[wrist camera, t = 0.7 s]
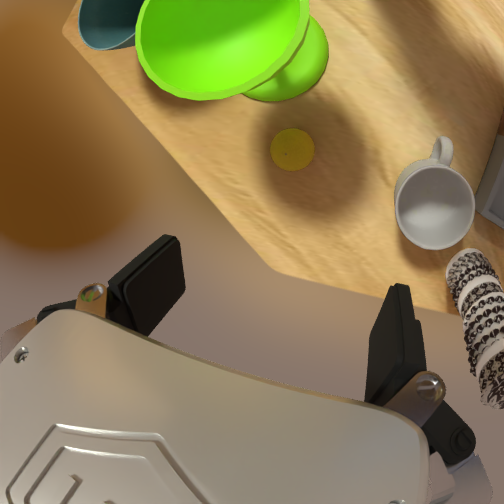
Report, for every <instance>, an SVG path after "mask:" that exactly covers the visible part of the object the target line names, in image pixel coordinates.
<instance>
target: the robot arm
mask: <svg viewBox="0 0 504 504" xmlns="http://www.w3.org/2000/svg"><path fill="white" fill-rule="evenodd" d="M108 284H109V287H108V288H106V286H105V285H103V284H101V283H93V284H89V285H87V286H85V287H84V288H82V289H81V291H80V292H79V294H78V296H77V299H76V300H72V301H68V302H63V303H58V304H54V305H50V306H47V307H45V308H43V309H42V311H40V313H39V314H38V316H37V319H35V317H34V318H32V319H30V320H28V321H26V322H24V323H21V324H19V325H17V326H15V327H13V328H11V329H9V330H7V331H6V332H5V333H4V334H3V335H2V337H1V340H0V345H1V358H2V362H1V364H0V504H426V500H427V494H428V486H429V477H430V480H431V482H432V483H431V484H430V487H431V490H432V499H431V502H430V503H429V504H489V503H490V502H491V499H492V495H493V491H492V486H491V484H490V481H489V479H488V476H487V474H486V471H485V469H484V466H483V464H482V462H481V459H480V457H479V455H476V456H475V454H474V452H473V451H474V449H475V444H476V438H475V435H474V433H473V431H472V430H471V429H470V427H469V426H468V425H467V424H466V423H465V422H464V421H463V420H462V419H461V418H460V417H459V416H458V415H457V414H456V412H455V411H454V410H453V409H452V408H451V407H450V406H449V405H448V404H447V403H446V402H445V401H444V400H443V399H444V397H445V394H446V387H445V384H444V382H443V380H442V379H441V378H440V377H439V375H437V374H435V373H434V372H430V371H427V369H426V358H425V350H424V342H423V335H422V329H421V323H420V321H419V320H416V319H415V315H414V309H413V304H412V298H411V293H410V288H409V286H408V285H404V284H399V283H396V284H395V285H394V286H390V287H389V290H388V292H387V295H386V298H385V300H384V302H383V305H382V307H381V310H380V312H379V314H378V317H377V319H376V321H375V324H374V326H373V328H372V330H371V333H370V337H369V354H368V368H367V380H366V390H365V400H364V402H362V401H358V400H353V399H349V398H344V397H339V396H334V395H330V394H325V393H321V392H316V391H312V390H307V389H304V388H299V387H295V386H291V385H287V384H284V383H280V382H276V381H272V380H268V379H265V378H262V377H258V376H255V375H252V374H248V373H245V372H242V371H238V370H235V369H232V368H229V367H226V366H223V365H220V364H217V363H214V362H211V361H208V360H206V359H203V358H200V357H197V356H195V355H192V354H189V353H187V352H183V351H181V350H179V349H176V348H174V347H171V346H168V345H166V344H163V343H161V342H158V341H156V340H154V339H151V338H149V337H148V336H149V335H150V333H151V332H152V331H153V329H154V328H155V327H156V326H157V325H158V324H159V322H160V321H161V320H162V319H163V317H164V316H165V315H166V314H167V313H168V311H169V310H170V309H171V308H172V307H173V305H174V304H175V303H176V302H177V301H178V299H179V298H180V297H181V296H182V294H183V293H184V291H185V288H186V287H185V279H184V272H183V264H182V256H181V248H180V242H179V241H178V240H177V238H176V237H175V236H171V235H166V234H164V235H162V236H161V237H160V238H159V239H157V240H156V241H155V242H154V243H152V244H151V245H150V246H149V247H147V248H146V249H145V250H144V251H143V252H141V253H140V254H139V255H138V256H137V257H135V258H134V259H133V260H132V261H131V262H130V263H128V264H127V265H126V266H125V267H124V268H122V269H121V270H120V271H119V272H118V273H117V274H116V275H114V276H113V277H112V278H111V279H110V280H109V281H108ZM389 502H390V503H389Z"/></svg>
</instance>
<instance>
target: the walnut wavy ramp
mask: <svg viewBox="0 0 504 504" xmlns="http://www.w3.org/2000/svg"><path fill="white" fill-rule="evenodd" d="M497 134H498V135H502V136H504V110H503V114H502V118H501V122H500V126H499V129H498V133H497Z"/></svg>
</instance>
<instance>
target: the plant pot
mask: <svg viewBox="0 0 504 504" xmlns="http://www.w3.org/2000/svg"><path fill="white" fill-rule="evenodd" d="M144 1H145V0H82V2H81V5H80V9H79V15H78V29H79V33H80V36H81V38H82V40H83V42H84V43H85V44H86V45H87V46H88V47H90V48H92V49H94V50H114V49H121V48H127V47H131V46H135V33H136V23H137V20H138V16H139V13H140V9H141V7H142V5H143V3H144Z"/></svg>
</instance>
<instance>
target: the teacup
mask: <svg viewBox="0 0 504 504" xmlns="http://www.w3.org/2000/svg"><path fill="white" fill-rule="evenodd" d="M452 158H453V144H452V141H451V140H450V139H449V138H448V137H445V136H439V137H438V138H437V139H436V142H435V144H434V147H433V151H432V154H431V156H430V159H423V160H419V161H416V162H413V163H411V164H410V165H408V166H407V167H406V168H405V169H404V170H403V171H402V173H401V174H400V176H399V177H398V179H397V182H396V185H395V190H394V203H395V214H396V219H397V223H398V225H399V227H400V229H401V231H402V233H403V234H404V236H405V237H406V238H407V239H408V240H410V241H411V242H412V243H414V244H415V245H417V246H419V247H421V248H424V249H428V250H442V249H446V248H449V247H451V246H453V245H454V244H456V243H458V242H459V241H460V240H461V239H462V238H463V237H464V236H465V235H466V234H467V232H468V231H469V229H470V227H471V225H472V223H473V220H474V216H475V198H474V195H473V192H472V189H471V187H470V185H469V183H468V182H467V180H466V179H465V178H464V177H463V176H462V175H461V174H459V173H458V172H457V171H455V170H453V169H452V168H451V167H449V166H450V164H451V161H452Z"/></svg>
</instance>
